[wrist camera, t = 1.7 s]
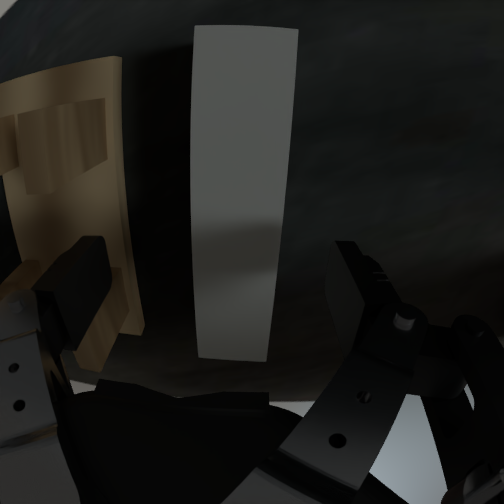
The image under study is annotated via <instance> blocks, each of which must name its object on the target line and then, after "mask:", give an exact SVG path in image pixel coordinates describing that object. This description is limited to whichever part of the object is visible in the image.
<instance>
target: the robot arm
mask: <svg viewBox="0 0 504 504" xmlns="http://www.w3.org/2000/svg"><path fill="white" fill-rule="evenodd" d="M111 285H112V272H111V267H110V262H109V258H108V253H107V247H106V242H105V239H104V237H103V236H100V235H83V236H82V237H81V238H80V239H79V240H78V241H77V242H76V243H75V244H74V245H73V246H72V247H71V248H70V249H69V250H67V251H66V252H64V253H62V254H61V255H60V256H59V257H58V258H57V259H56V260H55V261H54V262H53V264H51V265H50V267H49V268H48V269H47V271H45V272H44V273H43V275H42V276H41V277H40V278H39V279H38V280H37V281H36V283H35V284H34V285H33V286H32V287H31V289H20V290H16V291H13V292H11V293H9V294H8V295H6V296H5V297H4V298H3V299H2V300H1V301H0V504H409V503H407V502H406V501H405V500H403V499H402V498H401V497H399V496H398V495H397V494H396V493H394V492H393V491H392V490H391V489H389V488H388V487H387V486H385V485H384V484H383V483H381V482H380V481H379V480H378V479H377V478H376V477H374V476H373V475H372V474H371V473H369V470H370V469H371V467H372V465H373V463H374V461H375V459H376V458H377V456H378V454H379V452H380V449H381V448H382V446H383V444H384V442H385V440H386V438H387V436H388V434H389V431H390V430H391V427H392V425H393V423H394V421H395V419H396V417H397V414H398V412H399V410H400V408H401V405H402V403H403V401H404V398H405V396H406V394H411V395H418V396H420V397H421V400H422V403H423V406H424V409H425V412H426V415H427V418H428V421H429V424H430V427H431V431H432V434H433V437H434V441H435V444H436V448H437V451H438V455H439V458H440V462H441V466H442V469H443V473H444V477H445V481H446V485H447V489H448V491H447V492H446V493H445V495H444V496H443V498H442V500H441V504H504V348H503V347H502V345H501V343H500V342H499V340H498V339H497V337H496V336H495V334H494V332H493V331H492V329H491V328H490V327H489V326H488V324H487V323H485V322H484V321H483V320H481V319H479V318H477V317H475V316H471V315H461V316H458V317H457V318H456V319H455V320H454V322H453V325H452V327H451V328H447V327H441V326H435V325H430V324H428V320H427V317H426V316H425V315H424V313H423V312H422V311H421V310H419V309H418V308H416V307H414V306H412V305H410V304H406V303H402V301H401V299H400V298H399V296H398V294H397V293H396V291H395V289H394V288H393V286H392V284H391V283H390V281H388V278H387V276H386V275H385V274H384V271H383V270H382V268H381V267H380V265H379V263H377V262H376V261H375V260H373V259H372V258H371V257H369V256H363V255H362V253H361V251H360V250H359V248H358V246H357V245H356V243H355V242H354V241H333V242H332V244H331V248H330V254H329V260H328V266H327V272H326V278H325V297H326V300H327V303H328V307H329V310H330V313H331V316H332V319H333V323H334V326H335V329H336V333H337V336H338V339H339V343H340V346H341V350H342V353H343V357H344V362H343V363H342V365H341V366H340V368H339V369H338V371H337V372H336V374H335V375H334V376H333V378H332V379H331V381H330V382H329V383H328V385H327V386H326V388H325V389H324V390H323V392H322V393H321V395H320V396H319V397H318V399H317V400H316V401H315V403H314V404H313V405H312V407H311V408H310V409H309V411H308V412H307V413H306V414H305V416H304V417H301V416H299V415H298V414H296V413H293V412H291V411H289V410H286V409H282V408H280V407H276V406H272V405H269V392H219V393H212V394H206V395H199V396H191V397H183V398H176V397H172V396H169V395H166V394H163V393H160V392H157V391H154V390H151V389H148V388H145V387H143V386H140V385H137V384H130V383H123V382H116V381H110V380H104V379H99V380H98V383H97V386H96V388H95V391H87V392H82V393H78V394H74V392H73V389H72V386H71V383H70V380H69V377H68V374H67V371H66V367H65V364H64V361H63V358H62V356H61V354H60V353H61V351H62V350H63V349H65V350H71V351H77V349H78V347H79V345H80V343H81V341H82V339H83V337H84V336H85V334H86V332H87V330H88V328H89V326H90V324H91V323H92V321H93V319H94V317H95V315H96V314H97V312H98V310H99V308H100V307H101V305H102V303H103V301H104V300H105V298H106V296H107V294H108V293H109V291H110V289H111ZM466 384H468V386H469V388H470V390H471V393H472V395H473V398H474V410H473V409H472V407H471V404H470V402H469V400H468V397H467V395H466V393H465V390H464V388H465V386H466Z"/></svg>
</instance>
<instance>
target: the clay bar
mask: <svg viewBox="0 0 504 504" xmlns="http://www.w3.org/2000/svg"><path fill="white" fill-rule="evenodd" d="M297 43H298V29H289V28H277V27H264V26H241V25H203V26H195V32H194V48H193V68H192V93H191V139H190V188H191V235H192V262H193V284H194V302H195V318H196V332H197V345H198V357H199V358H210V359H223V360H238V361H257V362H266V359H267V351H268V343H269V335H270V327H271V319H272V311H273V302H274V294H275V285H276V277H277V268H278V259H279V249H280V240H281V231H282V221H283V211H284V201H285V191H286V180H287V170H288V159H289V148H290V136H291V124H292V112H293V99H294V86H295V72H296V58H297Z"/></svg>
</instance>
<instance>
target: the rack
mask: <svg viewBox="0 0 504 504" xmlns="http://www.w3.org/2000/svg"><path fill="white" fill-rule="evenodd" d="M121 78H122V57H117V56H110V57H104V58H98V59H93V60H87V61H82V62H77V63H73V64H68V65H64V66H59V67H55V68H51V69H47V70H44V71H40V72H36V73H33V74H29V75H26V76H23V77H19V78H16V79H13V80H10V81H7V82H4V83H1V84H0V176H1V175H3V182H4V187H5V193H6V198H7V203H8V208H9V213H10V217H11V222H12V226H13V230H14V234H15V238H16V242H17V246H18V249H19V253H20V256H21V260H22V263H21V264H20V265H19V266H18V267H17V268H16V269H15V270H14V271H13V272H12V273H11V274H10V275H9V276H8V277H7V278H6V279H5V280H4V281H3V282H2V283H1V285H0V301H1V300H2V299H3V298H4V297H5V296H6V295H8V294H9V293H11V292H13V291H16V290H20V289H31V287H32V286H33V285H34V284H35V283H36V281H37V280H38V279H39V278H40V277H41V276H42V275H43V273H44V272H45V271H47V269H48V268H49V267H50V265H51V264H53V262H54V261H55V260H56V259H57V258H58V257H59V256H60V255H61V254H62V253H64V252H66V251H67V250H69V249H70V248H71V247H72V246H73V245H74V244H75V243H76V242H77V241H78V240H79V239H80V238H81V237H82V236H83V235H100V236H103V237H104V239H105V242H106V247H107V253H108V258H109V262H110V267H111V272H112V285H111V289H110V291H109V293H108V294H107V296H106V298H105V300H104V301H103V303H102V305H101V307H100V308H99V310H98V312H97V314H96V315H95V317H94V319H93V321H92V323H91V324H90V326H89V328H88V330H87V332H86V334H85V336H84V337H83V339H82V341H81V343H80V345H79V347H78V349H77V351H73V353H74V355H75V357H76V360H77V362H78V364H79V366H80V368H81V369H86V370H91V371H96V372H101V370H102V368H103V366H104V364H105V361H106V359H107V357H108V355H109V353H110V350H111V348H112V346H113V344H114V342H115V340H116V338H117V336H118V333H125V334H132V335H140V336H141V334H142V332H143V329H144V327H145V322H144V317H143V312H142V307H141V301H140V296H139V290H138V284H137V278H136V272H135V265H134V259H133V251H132V244H131V236H130V228H129V219H128V210H127V200H126V189H125V177H124V162H123V143H122V111H121Z"/></svg>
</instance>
